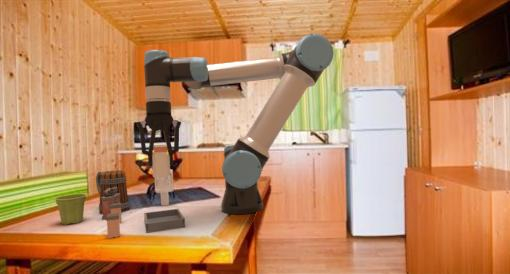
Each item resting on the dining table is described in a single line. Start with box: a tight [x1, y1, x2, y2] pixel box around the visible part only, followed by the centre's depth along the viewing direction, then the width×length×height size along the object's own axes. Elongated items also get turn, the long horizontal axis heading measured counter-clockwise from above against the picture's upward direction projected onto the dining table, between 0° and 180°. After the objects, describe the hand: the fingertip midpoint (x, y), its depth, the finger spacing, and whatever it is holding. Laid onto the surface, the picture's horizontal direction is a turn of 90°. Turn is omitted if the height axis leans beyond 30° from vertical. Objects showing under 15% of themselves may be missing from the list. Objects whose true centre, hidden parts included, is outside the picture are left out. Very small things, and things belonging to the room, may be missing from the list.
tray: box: [143, 208, 186, 234], centre depth 97 cm, size 11×14×3 cm
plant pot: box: [54, 193, 88, 225], centre depth 103 cm, size 9×9×9 cm
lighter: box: [101, 187, 120, 221], centre depth 109 cm, size 8×3×10 cm, turn 168°
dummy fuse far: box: [110, 203, 123, 224], centre depth 101 cm, size 3×3×6 cm
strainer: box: [154, 169, 174, 207], centre depth 124 cm, size 7×7×15 cm
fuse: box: [153, 144, 168, 179], centre depth 97 cm, size 4×4×10 cm
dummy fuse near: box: [105, 213, 121, 239], centre depth 87 cm, size 3×3×6 cm
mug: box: [95, 169, 130, 215], centre depth 119 cm, size 16×11×15 cm
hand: (161, 175), depth 97 cm, fingers closed on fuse, 4 cm apart
